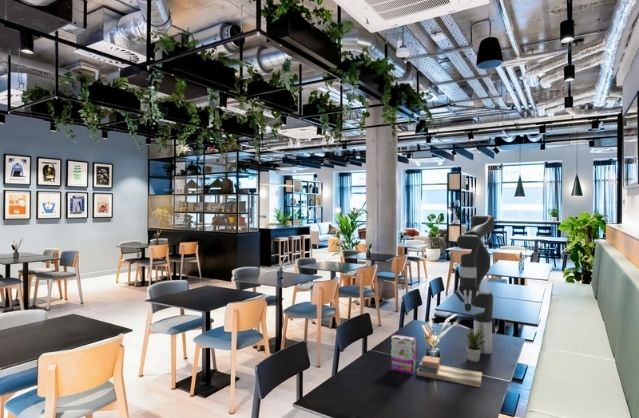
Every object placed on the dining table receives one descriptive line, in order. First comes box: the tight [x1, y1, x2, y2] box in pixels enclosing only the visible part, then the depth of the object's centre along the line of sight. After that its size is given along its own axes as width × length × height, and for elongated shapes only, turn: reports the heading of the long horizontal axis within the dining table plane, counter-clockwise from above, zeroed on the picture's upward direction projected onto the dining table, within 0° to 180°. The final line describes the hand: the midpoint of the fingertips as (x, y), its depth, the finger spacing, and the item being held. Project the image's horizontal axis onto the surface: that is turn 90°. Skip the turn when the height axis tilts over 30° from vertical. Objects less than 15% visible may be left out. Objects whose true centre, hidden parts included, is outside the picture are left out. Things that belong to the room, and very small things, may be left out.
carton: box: [423, 355, 441, 373], centre depth 190 cm, size 7×7×4 cm
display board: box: [416, 355, 483, 388], centre depth 187 cm, size 12×28×5 cm, turn 64°
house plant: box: [462, 327, 488, 363], centre depth 205 cm, size 14×14×16 cm
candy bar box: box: [390, 334, 417, 375], centre depth 192 cm, size 11×5×16 cm, turn 62°
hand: (467, 311), depth 193 cm, fingers closed
